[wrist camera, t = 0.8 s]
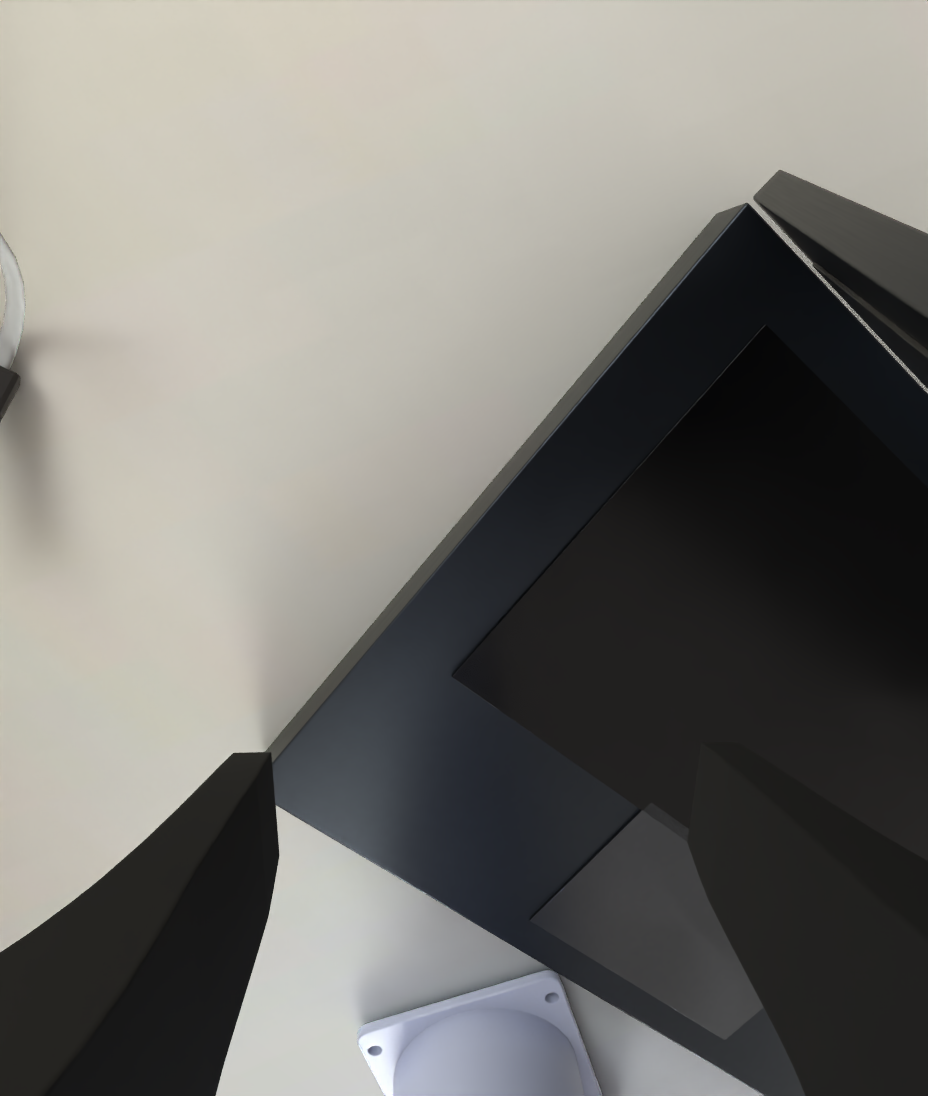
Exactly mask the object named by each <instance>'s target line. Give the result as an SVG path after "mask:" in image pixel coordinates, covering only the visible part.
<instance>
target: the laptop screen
mask: <svg viewBox="0 0 928 1096" xmlns="http://www.w3.org/2000/svg"><path fill="white" fill-rule="evenodd" d="M753 199H754V201H755V202H756V203H757V204H758V205H759V206H760V207H761V208H762V209H763V210H764V211H765V212H766V213H767V214H768V216H769V217H770V218H771V219H772V220H773V221H774V222H775V223H776V224H777V225H778V226H779V227H780V228H781V229H782V230H783V232H784V233H785V234H786V235H787V236H788V237H789V238H790V239H791V240H792V241H793V242H794V243H795V244H796V245H797V246H798V248H799V249H800V250H801V251H802V252H803V253H804V254H805V255H806V256H807V257H808V258H809V259H810V260H811V261H812V263H813V265H812V266H813V267H814V268H815V269H816V270H817V271H818V272H819V273H820V274H821V275H822V276H823V277H824V279H825V280H826V281H827V282H828V283H829V284H830V285H831V286H832V287H833V288H834V289H835V290H836V291H837V292H838V293H839V295H840V296H841V297H842V298H843V299H844V300H845V301H846V302H847V303H848V304H849V305H850V306H851V307H852V308H853V309H854V311H855V312H856V313H857V314H858V315H859V316H860V317H861V318H862V319H863V320H864V321H865V322H866V323H867V324H868V325H869V327H870V328H871V329H872V330H873V331H874V332H875V333H876V334H877V335H878V336H879V337H880V338H881V339H882V340H883V341H884V343H885V344H886V345H887V346H888V347H889V348H890V349H891V350H892V351H893V352H894V353H895V354H896V355H897V356H898V357H899V358H900V360H901V361H902V362H903V363H904V364H905V365H906V366H907V367H908V368H909V369H910V370H911V371H912V372H913V373H914V374H915V376H916V377H917V378H918V379H919V380H920V381H921V382H922V383H923V384H924V385H925V386H926V387H927V388H928V234H927V233H925V232H922V231H920V230H918V229H915V228H913V227H911V226H909V225H906V224H904V223H902V222H899V221H897V220H895V219H892V218H890V217H888V216H886V215H883V214H881V213H879V212H876V211H874V210H872V209H869V208H867V207H865V206H863V205H860V204H858V203H856V202H853V201H851V200H849V199H846V198H844V197H842V196H840V195H837V194H835V193H833V192H830V191H828V190H826V189H823V188H821V187H819V186H817V185H814V184H812V183H810V182H807V181H805V180H803V179H800V178H798V177H796V176H794V175H791V174H789V173H787V172H784V171H782V170H779V171H778V172H777V173H776V174H775V175H774V176H773V177H772V178H771V179H770V180H769V181H768V182H767V183H766V184H765V185H764V186H763V187H762V188H761V189H760V190H759V191H758V192H757V193H756V194H755V195H754V197H753Z"/></svg>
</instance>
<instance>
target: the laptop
mask: <svg viewBox="0 0 928 1096" xmlns="http://www.w3.org/2000/svg"><path fill="white" fill-rule="evenodd" d="M706 742H737V743H739V744H741V745H743V746H745V747H746V748H748V749H750V750H751V751H753V752H755V753H756V754H758V755H759V756H761V757H763V758H764V759H766V760H767V761H769V762H770V763H772V764H773V765H775V766H776V767H778V768H779V769H781V770H782V771H784V772H785V773H787V774H788V775H790V776H791V777H793V778H794V779H796V780H798V781H799V782H801V783H802V784H804V785H805V786H807V787H808V788H810V789H811V790H813V791H814V792H816V793H817V794H819V795H820V796H822V797H823V798H825V799H826V800H828V801H829V802H831V803H833V804H834V805H836V806H837V807H839V808H840V809H842V810H843V811H845V812H847V813H848V814H850V815H851V816H853V817H854V818H856V819H858V820H859V821H861V822H863V823H864V824H866V825H867V826H869V827H871V828H872V829H874V830H876V831H877V832H879V833H881V834H882V835H884V836H886V837H887V838H889V839H891V840H892V841H894V842H896V843H898V844H899V845H901V846H903V847H904V848H906V849H908V850H910V851H911V852H913V853H915V854H916V855H918V856H920V857H922V858H923V859H925V860H927V861H928V394H927V393H926V392H925V391H924V390H923V389H922V387H921V386H920V385H919V384H918V383H917V382H916V381H915V380H914V379H913V378H912V377H911V376H910V375H909V374H908V373H907V371H906V370H905V369H904V368H903V367H902V366H901V365H900V364H899V363H898V362H897V361H896V360H895V359H894V358H893V357H892V356H891V354H890V353H889V352H888V351H887V350H886V349H885V348H884V347H883V346H882V345H881V344H880V343H879V342H878V341H877V340H876V339H875V337H874V336H873V335H872V334H871V333H870V332H869V331H868V330H867V329H866V328H865V327H864V326H863V325H862V324H861V323H860V322H859V320H858V319H857V318H856V317H855V316H854V315H853V314H852V313H851V312H850V311H849V310H848V309H847V308H846V307H845V306H844V305H843V303H842V302H841V301H840V300H839V299H838V298H837V297H836V296H835V295H834V294H833V293H832V292H831V291H830V290H829V289H828V287H827V286H826V285H825V284H824V283H823V282H822V281H821V280H820V279H819V278H818V277H817V276H816V275H815V274H814V273H813V272H812V270H811V269H810V268H809V267H808V266H807V265H806V264H805V263H804V262H803V261H802V260H801V259H800V258H799V257H798V256H797V255H796V253H795V252H794V251H793V250H792V249H791V248H790V247H789V246H788V245H787V244H786V243H785V242H784V241H783V240H782V239H781V238H780V236H779V235H778V234H777V233H776V232H775V231H774V230H773V229H772V228H771V227H770V226H769V225H768V224H767V223H766V222H765V221H764V219H763V218H762V217H761V216H760V215H759V214H758V213H757V212H756V211H755V210H754V209H753V208H752V207H751V206H750V205H749V204H748V203H745V204H742V205H739V206H737V207H734V208H731V209H728V210H726V211H723V212H720V213H718V214H716V215H715V216H714V218H713V219H712V220H711V221H710V222H709V224H708V225H707V226H706V227H705V228H704V230H703V231H702V232H701V233H700V234H699V235H698V237H697V238H696V239H695V240H694V241H693V243H692V244H691V245H690V246H689V247H688V249H687V250H686V251H685V252H684V253H683V255H682V256H681V257H680V258H679V259H678V261H677V262H676V263H675V264H674V265H673V266H672V268H671V269H670V270H669V271H668V272H667V274H666V275H665V276H664V277H663V278H662V280H661V281H660V282H659V283H658V284H657V286H656V287H655V288H654V289H653V290H652V291H651V293H650V294H649V295H648V296H647V297H646V299H645V300H644V301H643V302H642V303H641V305H640V306H639V307H638V308H637V309H636V311H635V312H634V313H633V314H632V315H631V317H630V318H629V319H628V320H627V321H626V322H625V324H624V325H623V326H622V327H621V328H620V330H619V331H618V332H617V333H616V334H615V336H614V337H613V338H612V339H611V340H610V342H609V343H608V344H607V345H606V346H605V347H604V349H603V350H602V351H601V352H600V353H599V355H598V356H597V357H596V358H595V359H594V361H593V362H592V363H591V364H590V365H589V367H588V368H587V369H586V370H585V371H584V372H583V374H582V375H581V376H580V377H579V378H578V380H577V381H576V382H575V383H574V384H573V386H572V387H571V388H570V389H569V390H568V392H567V393H566V394H565V395H564V396H563V398H562V399H561V400H560V401H559V402H558V403H557V405H556V406H555V407H554V408H553V409H552V411H551V412H550V413H549V414H548V415H547V417H546V418H545V419H544V420H543V421H542V423H541V424H540V425H539V426H538V427H537V428H536V430H535V431H534V432H533V433H532V434H531V436H530V437H529V438H528V439H527V440H526V442H525V443H524V444H523V445H522V446H521V448H520V449H519V450H518V451H517V452H516V454H515V455H514V456H513V457H512V458H511V459H510V461H509V462H508V463H507V464H506V465H505V467H504V468H503V469H502V470H501V471H500V473H499V474H498V475H497V476H496V477H495V479H494V480H493V481H492V482H491V483H490V484H489V486H488V487H487V488H486V489H485V490H484V492H483V493H482V494H481V495H480V496H479V498H478V499H477V500H476V501H475V502H474V504H473V505H472V506H471V507H470V508H469V510H468V511H467V512H466V513H465V514H464V515H463V517H462V518H461V519H460V520H459V521H458V523H457V524H456V525H455V526H454V527H453V529H452V530H451V531H450V532H449V533H448V535H447V536H446V537H445V538H444V539H443V540H442V542H441V543H440V544H439V545H438V546H437V548H436V549H435V550H434V551H433V552H432V554H431V555H430V556H429V557H428V558H427V560H426V561H425V562H424V563H423V564H422V565H421V567H420V568H419V569H418V570H417V571H416V573H415V574H414V575H413V576H412V577H411V579H410V580H409V581H408V582H407V583H406V585H405V586H404V587H403V588H402V589H401V591H400V592H399V593H398V594H397V595H396V596H395V598H394V599H393V600H392V601H391V602H390V604H389V605H388V606H387V607H386V608H385V610H384V611H383V612H382V613H381V614H380V616H379V617H378V618H377V619H376V620H375V621H374V623H373V624H372V625H371V626H370V627H369V629H368V630H367V631H366V632H365V633H364V635H363V636H362V637H361V638H360V639H359V641H358V642H357V643H356V644H355V645H354V647H353V648H352V649H351V650H350V651H349V652H348V654H347V655H346V656H345V657H344V658H343V660H342V661H341V662H340V663H339V664H338V666H337V667H336V668H335V669H334V670H333V672H332V673H331V674H330V675H329V676H328V677H327V679H326V680H325V681H324V682H323V683H322V685H321V686H320V687H319V688H318V689H317V691H316V692H315V693H314V694H313V695H312V697H311V698H310V699H309V700H308V701H307V703H306V704H305V705H304V706H303V707H302V708H301V710H300V711H299V712H298V713H297V714H296V716H295V717H294V718H293V719H292V720H291V722H290V723H289V724H288V725H287V726H286V728H285V729H284V730H283V731H282V732H281V733H280V735H279V736H278V737H277V738H276V739H275V741H274V742H273V743H272V744H271V745H270V747H269V748H268V749H267V750H266V751H265V752H271V754H272V767H273V780H274V793H275V805H277V806H278V807H280V808H282V809H283V810H285V811H287V812H288V813H290V814H292V815H294V816H295V817H297V818H299V819H300V820H302V821H304V822H305V823H307V824H309V825H310V826H312V827H314V828H315V829H317V830H319V831H320V832H322V833H324V834H325V835H327V836H329V837H330V838H332V839H334V840H336V841H337V842H339V843H341V844H342V845H344V846H346V847H347V848H349V849H351V850H352V851H354V852H356V853H357V854H359V855H361V856H362V857H364V858H366V859H367V860H369V861H371V862H373V863H374V864H376V865H378V866H379V867H381V868H383V869H384V870H386V871H388V872H389V873H391V874H393V875H394V876H396V877H398V878H399V879H401V880H403V881H404V882H406V883H408V884H409V885H411V886H413V887H415V888H416V889H418V890H420V891H421V892H423V893H425V894H426V895H428V896H430V897H431V898H433V899H435V900H436V901H438V902H440V903H441V904H443V905H445V906H446V907H448V908H450V909H452V910H453V911H455V912H457V913H458V914H460V915H462V916H463V917H465V918H467V919H468V920H470V921H472V922H473V923H475V924H477V925H478V926H480V927H482V928H483V929H485V930H487V931H488V932H490V933H492V934H494V935H495V936H497V937H499V938H500V939H502V940H504V941H505V942H507V943H509V944H510V945H512V946H514V947H515V948H517V949H519V950H520V951H522V952H524V953H525V954H527V955H529V956H531V957H532V958H534V959H536V960H537V961H539V962H541V963H542V964H544V965H546V966H547V967H549V968H551V969H552V970H554V971H556V972H557V973H559V974H561V975H562V976H564V977H566V978H568V979H569V980H571V981H573V982H574V983H576V984H578V985H579V986H581V987H583V988H584V989H586V990H588V991H589V992H591V993H593V994H594V995H596V996H598V997H599V998H601V999H603V1000H604V1001H606V1002H608V1003H610V1004H611V1005H613V1006H615V1007H616V1008H618V1009H620V1010H621V1011H623V1012H625V1013H626V1014H628V1015H630V1016H631V1017H633V1018H635V1019H636V1020H638V1021H640V1022H641V1023H643V1024H645V1025H647V1026H648V1027H650V1028H652V1029H653V1030H655V1031H657V1032H658V1033H660V1034H662V1035H663V1036H665V1037H667V1038H668V1039H670V1040H672V1041H673V1042H675V1043H677V1044H678V1045H680V1046H682V1047H683V1048H685V1049H687V1050H689V1051H690V1052H692V1053H694V1054H695V1055H697V1056H699V1057H700V1058H702V1059H704V1060H705V1061H707V1062H709V1063H710V1064H712V1065H714V1066H715V1067H717V1068H719V1069H720V1070H722V1071H724V1072H726V1073H727V1074H729V1075H731V1076H732V1077H734V1078H736V1079H737V1080H739V1081H741V1082H742V1083H744V1084H746V1085H747V1086H749V1087H751V1088H752V1089H754V1090H756V1091H757V1092H759V1093H761V1094H762V1095H764V1096H805V1094H804V1091H803V1089H802V1086H801V1084H800V1082H799V1079H798V1077H797V1074H796V1072H795V1070H794V1067H793V1065H792V1063H791V1061H790V1059H789V1057H788V1055H787V1053H786V1050H785V1048H784V1046H783V1044H782V1042H781V1040H780V1038H779V1036H778V1034H777V1032H776V1030H775V1028H774V1026H773V1024H772V1022H771V1020H770V1018H769V1017H768V1015H767V1013H766V1011H765V1009H764V1007H763V1005H762V1003H761V1001H760V999H759V997H758V995H757V994H756V992H755V990H754V988H753V986H752V984H751V982H750V980H749V978H748V976H747V974H746V972H745V971H744V969H743V967H742V965H741V963H740V961H739V959H738V957H737V955H736V953H735V951H734V950H733V948H732V946H731V944H730V942H729V940H728V938H727V936H726V934H725V932H724V930H723V928H722V926H721V924H720V922H719V920H718V918H717V916H716V914H715V912H714V910H713V908H712V906H711V904H710V902H709V900H708V898H707V895H706V893H705V890H704V887H703V885H702V882H701V880H700V877H699V874H698V872H697V869H696V866H695V863H694V860H693V857H692V854H691V852H690V849H689V846H688V843H687V840H688V832H689V825H690V818H691V811H692V804H693V797H694V790H695V783H696V776H697V769H698V762H699V755H700V748H701V743H706Z"/></svg>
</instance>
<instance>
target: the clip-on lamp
mask: <svg viewBox="0 0 928 1096" xmlns="http://www.w3.org/2000/svg"><path fill="white" fill-rule="evenodd" d="M0 265H1V269H2V272H3V275H4V279H5V293H6V303H5V310H4V318H3V323H2V327H1V330H0V422H1V420H2V418H3V416H4V414H5V412H6V410H7V409H8V407H9V405H10V403H11V401H12V399H13V397H14V395H15V393H16V391H17V389H18V387H19V385H20V376H19V375H18V374H17V373H15V372H13V371H11V370H10V368H11V366H12V363H13V361H14V358H15V356H16V353H17V350H18V346H19V342H20V339H21V335H22V332H23V326H24V317H25V308H26V304H25V293H24V282H23V279H22V275H21V272H20V269H19V266H18V263H17V260H16V257H15V255H14V254H13V252H12V250H11V249H10V247H9V246H8V244H7V242H6V241H5V239H4V238H3V236H2V234H1V233H0Z"/></svg>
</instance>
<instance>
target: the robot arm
mask: <svg viewBox="0 0 928 1096" xmlns="http://www.w3.org/2000/svg"><path fill="white" fill-rule="evenodd" d="M687 843H688V846H689V849H690V852H691V854H692V857H693V860H694V863H695V866H696V869H697V872H698V874H699V877H700V880H701V882H702V885H703V887H704V890H705V893H706V895H707V898H708V900H709V902H710V904H711V906H712V908H713V910H714V912H715V914H716V916H717V918H718V920H719V922H720V924H721V926H722V928H723V930H724V932H725V934H726V936H727V938H728V940H729V942H730V944H731V946H732V948H733V950H734V951H735V953H736V955H737V957H738V959H739V961H740V963H741V965H742V967H743V969H744V971H745V972H746V974H747V976H748V978H749V980H750V982H751V984H752V986H753V988H754V990H755V992H756V994H757V995H758V997H759V999H760V1001H761V1003H762V1005H763V1007H764V1009H765V1011H766V1013H767V1015H768V1017H769V1018H770V1020H771V1022H772V1024H773V1026H774V1028H775V1030H776V1032H777V1034H778V1036H779V1038H780V1040H781V1042H782V1044H783V1046H784V1048H785V1050H786V1053H787V1055H788V1057H789V1059H790V1061H791V1063H792V1065H793V1067H794V1070H795V1072H796V1074H797V1077H798V1079H799V1082H800V1084H801V1086H802V1089H803V1091H804V1094H805V1096H928V861H927V860H925V859H923V858H922V857H920V856H918V855H916V854H915V853H913V852H911V851H910V850H908V849H906V848H904V847H903V846H901V845H899V844H898V843H896V842H894V841H892V840H891V839H889V838H887V837H886V836H884V835H882V834H881V833H879V832H877V831H876V830H874V829H872V828H871V827H869V826H867V825H866V824H864V823H863V822H861V821H859V820H858V819H856V818H854V817H853V816H851V815H850V814H848V813H847V812H845V811H843V810H842V809H840V808H839V807H837V806H836V805H834V804H833V803H831V802H829V801H828V800H826V799H825V798H823V797H822V796H820V795H819V794H817V793H816V792H814V791H813V790H811V789H810V788H808V787H807V786H805V785H804V784H802V783H801V782H799V781H798V780H796V779H794V778H793V777H791V776H790V775H788V774H787V773H785V772H784V771H782V770H781V769H779V768H778V767H776V766H775V765H773V764H772V763H770V762H769V761H767V760H766V759H764V758H763V757H761V756H759V755H758V754H756V753H755V752H753V751H751V750H750V749H748V748H746V747H745V746H743V745H741V744H739V743H737V742H706V743H701V748H700V755H699V762H698V769H697V776H696V783H695V790H694V797H693V804H692V811H691V818H690V825H689V832H688V840H687ZM278 860H279V845H278V832H277V819H276V806H275V793H274V780H273V767H272V754H271V752H256V753H233V754H232V755H231V756H230V757H229V758H228V759H227V760H226V761H225V762H224V763H223V764H222V765H221V766H219V767H218V768H217V769H216V771H215V772H214V773H213V774H212V775H211V776H210V777H209V778H208V779H207V780H206V781H205V782H204V783H203V784H202V785H201V786H200V787H199V788H198V789H197V790H196V791H195V792H194V793H193V794H192V795H191V796H190V797H189V798H188V799H187V800H186V801H185V802H184V803H183V804H182V805H181V806H180V807H179V808H178V809H177V810H176V811H175V812H174V813H173V814H172V815H171V816H169V817H168V818H167V819H166V820H165V821H164V822H163V823H162V824H161V825H160V826H159V827H158V828H157V829H156V830H155V831H154V832H153V833H152V834H151V835H150V836H149V837H148V838H147V839H145V840H144V841H143V842H142V843H141V844H140V845H139V846H138V847H136V848H135V849H134V850H133V851H132V852H131V853H130V854H129V855H127V856H126V857H125V858H124V859H123V860H122V861H121V862H119V863H118V864H117V865H116V866H115V867H114V868H113V869H111V870H110V871H109V872H108V873H107V874H106V875H105V876H103V877H102V878H101V879H100V880H99V881H97V882H96V883H95V884H94V885H92V886H91V887H90V888H89V889H87V890H86V891H85V892H84V893H82V894H81V895H80V896H79V897H77V898H76V899H75V900H74V901H72V902H71V903H70V904H68V905H67V906H66V907H64V908H63V909H61V910H60V911H59V912H57V913H56V914H55V915H53V916H52V917H51V918H49V919H48V920H47V921H45V922H44V923H43V924H41V925H40V926H39V927H37V928H36V929H34V930H33V931H32V932H30V933H29V934H27V935H26V936H24V937H23V938H21V939H20V940H18V941H17V942H15V943H14V944H12V945H11V946H9V947H8V948H6V949H5V950H3V951H2V952H0V1096H215V1095H216V1091H217V1088H218V1084H219V1080H220V1076H221V1072H222V1069H223V1065H224V1062H225V1058H226V1055H227V1052H228V1048H229V1045H230V1042H231V1039H232V1035H233V1032H234V1029H235V1025H236V1022H237V1019H238V1016H239V1012H240V1009H241V1006H242V1002H243V999H244V996H245V993H246V989H247V986H248V983H249V980H250V976H251V973H252V970H253V966H254V963H255V960H256V956H257V953H258V950H259V946H260V943H261V940H262V936H263V933H264V930H265V926H266V923H267V919H268V915H269V910H270V905H271V899H272V894H273V889H274V883H275V877H276V871H277V866H278ZM357 1042H358V1045H359V1047H360V1049H361V1051H362V1053H363V1055H364V1057H365V1059H366V1061H367V1063H368V1065H369V1067H370V1069H371V1071H372V1072H373V1074H374V1076H375V1078H376V1080H377V1082H378V1084H379V1086H380V1088H381V1090H382V1092H383V1094H384V1096H603V1095H602V1092H601V1089H600V1087H599V1084H598V1081H597V1078H596V1076H595V1073H594V1070H593V1067H592V1065H591V1062H590V1059H589V1056H588V1054H587V1051H586V1048H585V1045H584V1043H583V1040H582V1037H581V1034H580V1032H579V1029H578V1026H577V1023H576V1021H575V1018H574V1015H573V1012H572V1010H571V1007H570V1004H569V1001H568V999H567V996H566V993H565V990H564V988H563V985H562V982H561V979H560V977H559V975H558V974H557V973H556V972H554V971H552V970H544V971H540V972H537V973H533V974H530V975H527V976H523V977H520V978H517V979H513V980H510V981H507V982H503V983H500V984H497V985H493V986H490V987H487V988H483V989H480V990H477V991H473V992H470V993H467V994H463V995H460V996H456V997H453V998H450V999H446V1000H443V1001H440V1002H436V1003H433V1004H430V1005H426V1006H423V1007H420V1008H416V1009H413V1010H410V1011H406V1012H403V1013H400V1014H396V1015H393V1016H390V1017H386V1018H383V1019H379V1020H376V1021H373V1022H369V1023H366V1024H364V1025H362V1026H361V1027H360V1028H359V1030H358V1035H357Z"/></svg>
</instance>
